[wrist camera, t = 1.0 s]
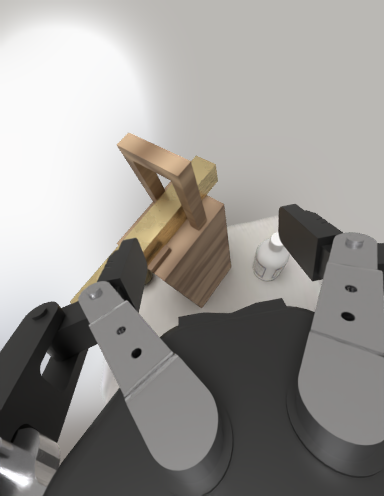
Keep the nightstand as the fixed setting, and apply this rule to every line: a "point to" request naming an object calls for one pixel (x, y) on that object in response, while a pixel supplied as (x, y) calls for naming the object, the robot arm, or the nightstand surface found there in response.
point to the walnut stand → (192, 230)
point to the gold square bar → (164, 217)
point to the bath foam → (270, 258)
